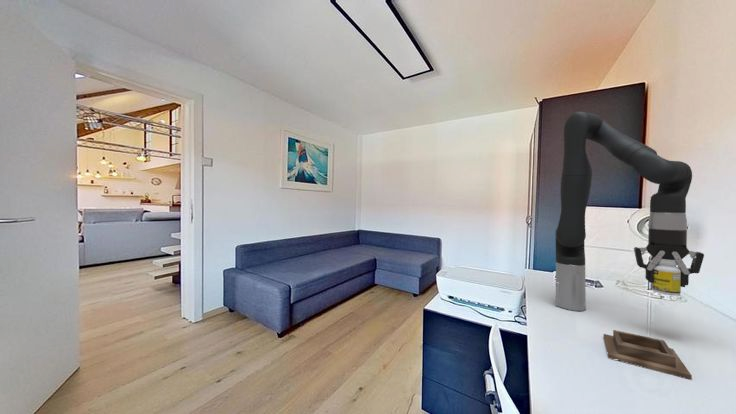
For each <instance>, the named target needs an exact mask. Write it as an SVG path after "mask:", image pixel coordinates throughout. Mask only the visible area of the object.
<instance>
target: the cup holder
mask: <svg viewBox="0 0 736 414" xmlns="http://www.w3.org/2000/svg"><path fill="white" fill-rule="evenodd" d="M612 332H613V333H612V335H611V334H606V333H603V340H604V344H605V345H604V346H605V349H606V352H608V354H607V357H609V358H612V359H611V360H613V359H618V360H621V361H624V362H623V363H625V362H628V363H627V364H629V363H632V364H636V365H639V366H638V367H640V366H642V367H641V368H644V367H645V369H648V370H653V371H656V372H659V371H660V372H661V373H663V372H664V373H663V374H667V373H669V374H668V375H671V374H674V375H673V376H675V375H677V376H676V377H679V376H681V377H680V378H683V377H685V378H684V379H687V380H690V379H691V380H692V379H693V378H692V374H691V372H690V371H689V369H688V368H687V367H686V366H685V364H684V362H683V361H682V360H681V359H680V357H679V356H678V354H677V353H676V351H675V349H674V348H671V347H669V345H668V344H667V342H666V341H665V340H664V339H660V338H655V337H649V336H645V335H639V334H636V333H635V334H634V333H630V332H625V331H620V330H616V329H613V330H612ZM609 358H608V359H609ZM621 361H620V362H621ZM632 364H631V365H632ZM636 365H635V366H636ZM691 380H690V381H691Z"/></svg>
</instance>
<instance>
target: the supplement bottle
mask: <svg viewBox="0 0 736 414" xmlns="http://www.w3.org/2000/svg"><path fill="white" fill-rule="evenodd" d="M652 270H653V283H651V290H652V291H653V292H655V293H658V294H661V295H668V296H681V292H682V291H681V290H682V289H681V288H682V287H681V270H680V269H679V268H678V266H677V262H676V260H669V259H660V261H659V262H658V263H657V265H655V267H654V268H653V269H652Z"/></svg>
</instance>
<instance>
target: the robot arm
mask: <svg viewBox="0 0 736 414" xmlns="http://www.w3.org/2000/svg"><path fill="white" fill-rule="evenodd" d="M587 140H589V141H591V142H595V143H596V144H598V145H600V146H603V147H604V148H605V149H606V150H607V151H608V152H609V153H610V154H611V156H613V157H614V158H616V159H617V160H619V161H620V162H622V163H624V164H626V165H627V166H629V167H630V168H632V169H634V171H635V172H637V174H639V175H640V176H641V177H642V178H643V179H645V181H648V182H650V183H653V184H655V185H658V189H657V191H656V192H655V193H653V194H652V195H651V197H650V200H649V217H648V224H647V226H648V232H647V233H648V238H647V239H648V241H647V242H648V243H647V246H646V247H638V246H637V247H634V248H633V252H634V256H635V261H636V265H637V266H638V267H639V268H641V269H644V270H645V275H644V276H645V280H646V281H648V283H649V284H652V283H653V270H652V269H653V268H654V267H655V265H657V263H658V262H659V261H660V259H669V260H676V262H677V265H676V267H678V268H679V269H680V270H681V288H686V286H689V278H690V277H689V276H690V274H699V273H700V271H701V268H702V264H703V261H704V258H705V254H704V253H703V252H701V251H693V250H689V249H688V246H687V244H688V242H687V241H688V240H687V239H688V237H687V236H688V223H687V222H688V220H687V219H688V218H687V216H686V215H687V213H686V212H687V210H686V209H687V205H686V204H687V201H686V198H687V196H688V193H689V190H690V187H691V184H692V179H693V170H692V168H691V167H690V165H689V164H688V163H686V162H684V161H680V160H678V161H677V160H669V159H666V158H664V157H662V156H660V155H658V153H657V151H656V149H653V148H652V147H651V146H648V145H646V144H644V143H642V142H640V141H638V140H636V139H635V138H632V137H630V136H628V135H626V134H624V133H622V132H620V131H619V130H617V129H616V128H614V127H613V126H611V124H609V123H608V122H607V121H605V119H603V118H602V117H601V116H599V115H598V114H595V113H590V112H587V111H586V112H585V111H575V112H573V113H571V114H570V115H569V116H568V117H567V118H566V120H565V122H564V126H563V160H562V162H563V163H562V170H561V178H560V206H561V207H560V208H561V209H560V216H559V221H558V224H557V227H556V230H555V307H559V308H562V309H565V310H569V311H574V312H582V311H583V312H584V311H585V310H586V308H587V307H586V305H587V301H586V300H587V299H586V296H587V295H586V294H587V293H586V252H585V240H586V236H587V234H586V211H587V206H588V202H589V197H590V193H591V187H592V180H593V179H592V178H593V169H592V166H591V165H592V164H591V163H590V159H589V158H588V157H589V156H588V155H587V154H588V153H587V151H586V141H587ZM646 252H648V253H649V255H650V256H651V257H650V258H649V260H648V262H647V263H644V259H643V255H645V253H646ZM688 255H689V257H690V258H691V259H692V261H691V265H690V267H689V268H687V265H686V264H685V262H684V258H685V257H687V256H688Z"/></svg>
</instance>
